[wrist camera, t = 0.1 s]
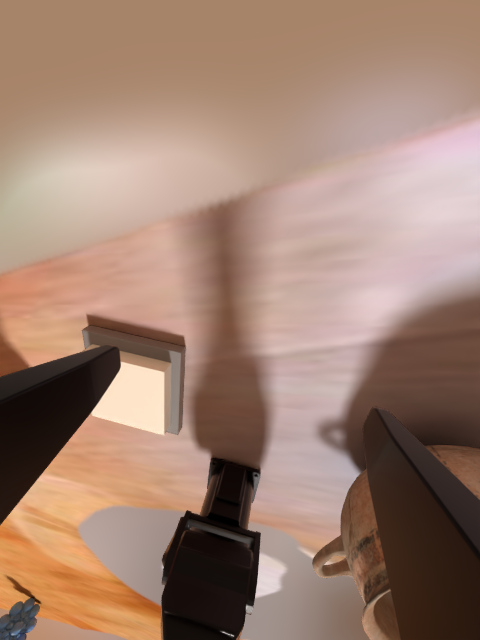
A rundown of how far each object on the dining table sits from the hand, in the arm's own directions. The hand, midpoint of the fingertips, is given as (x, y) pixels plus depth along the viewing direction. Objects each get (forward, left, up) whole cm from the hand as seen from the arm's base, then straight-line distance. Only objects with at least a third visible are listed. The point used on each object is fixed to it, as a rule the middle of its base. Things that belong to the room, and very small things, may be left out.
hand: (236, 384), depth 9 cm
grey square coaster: (-15, +13, -15) cm, 25 cm away
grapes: (-110, +52, -15) cm, 123 cm away
